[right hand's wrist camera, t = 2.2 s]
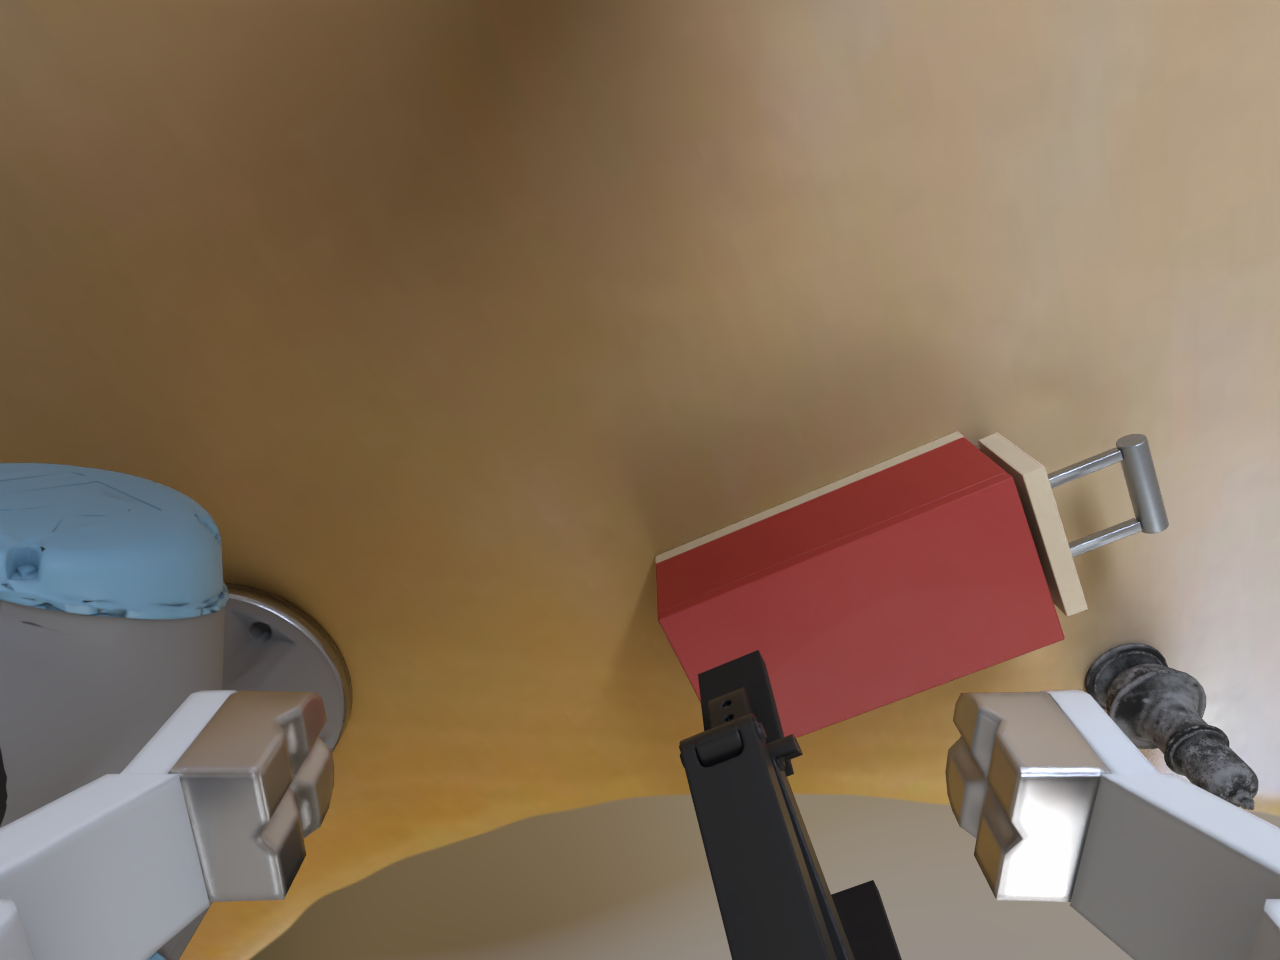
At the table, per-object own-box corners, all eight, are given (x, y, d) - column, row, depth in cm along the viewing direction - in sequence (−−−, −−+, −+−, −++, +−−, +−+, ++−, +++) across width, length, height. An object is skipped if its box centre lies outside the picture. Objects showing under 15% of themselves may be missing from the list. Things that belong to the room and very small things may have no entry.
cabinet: (957, 430, 48) (1013, 476, 41) (1005, 573, 52) (1065, 639, 44) (655, 556, 51) (657, 619, 44) (719, 683, 55) (731, 762, 47)
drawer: (1101, 388, 47) (1164, 418, 41) (1137, 523, 50) (1201, 567, 44) (703, 552, 50) (711, 599, 45) (759, 668, 53) (773, 726, 48)
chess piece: (1177, 699, 55) (1315, 834, 44) (1089, 725, 56) (1202, 864, 44) (1164, 627, 53) (1305, 750, 42) (1073, 655, 54) (1188, 783, 42)
